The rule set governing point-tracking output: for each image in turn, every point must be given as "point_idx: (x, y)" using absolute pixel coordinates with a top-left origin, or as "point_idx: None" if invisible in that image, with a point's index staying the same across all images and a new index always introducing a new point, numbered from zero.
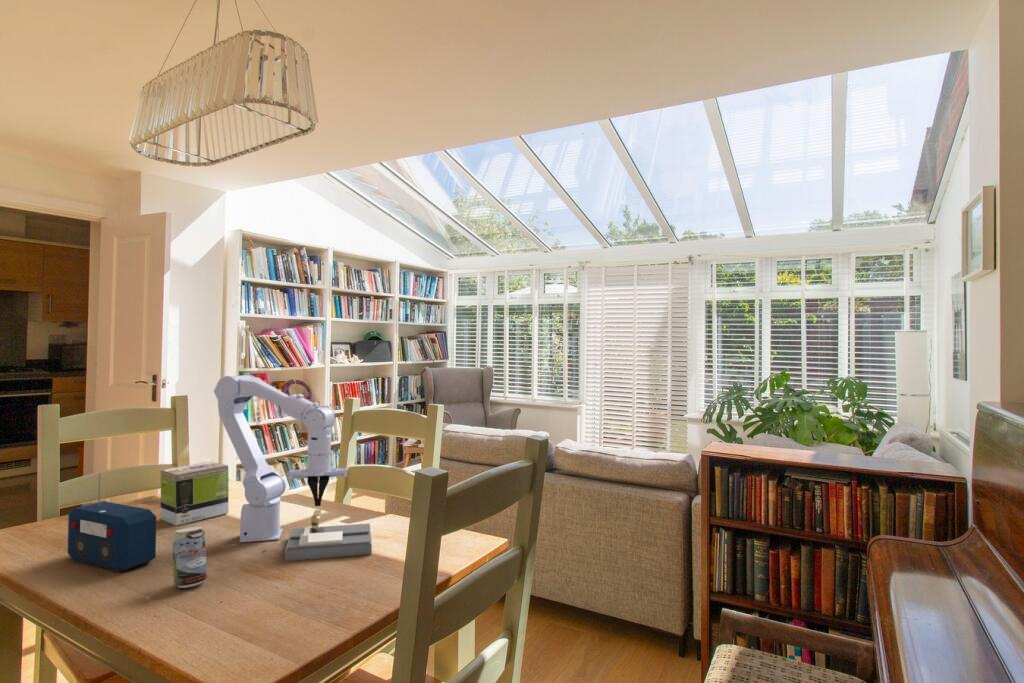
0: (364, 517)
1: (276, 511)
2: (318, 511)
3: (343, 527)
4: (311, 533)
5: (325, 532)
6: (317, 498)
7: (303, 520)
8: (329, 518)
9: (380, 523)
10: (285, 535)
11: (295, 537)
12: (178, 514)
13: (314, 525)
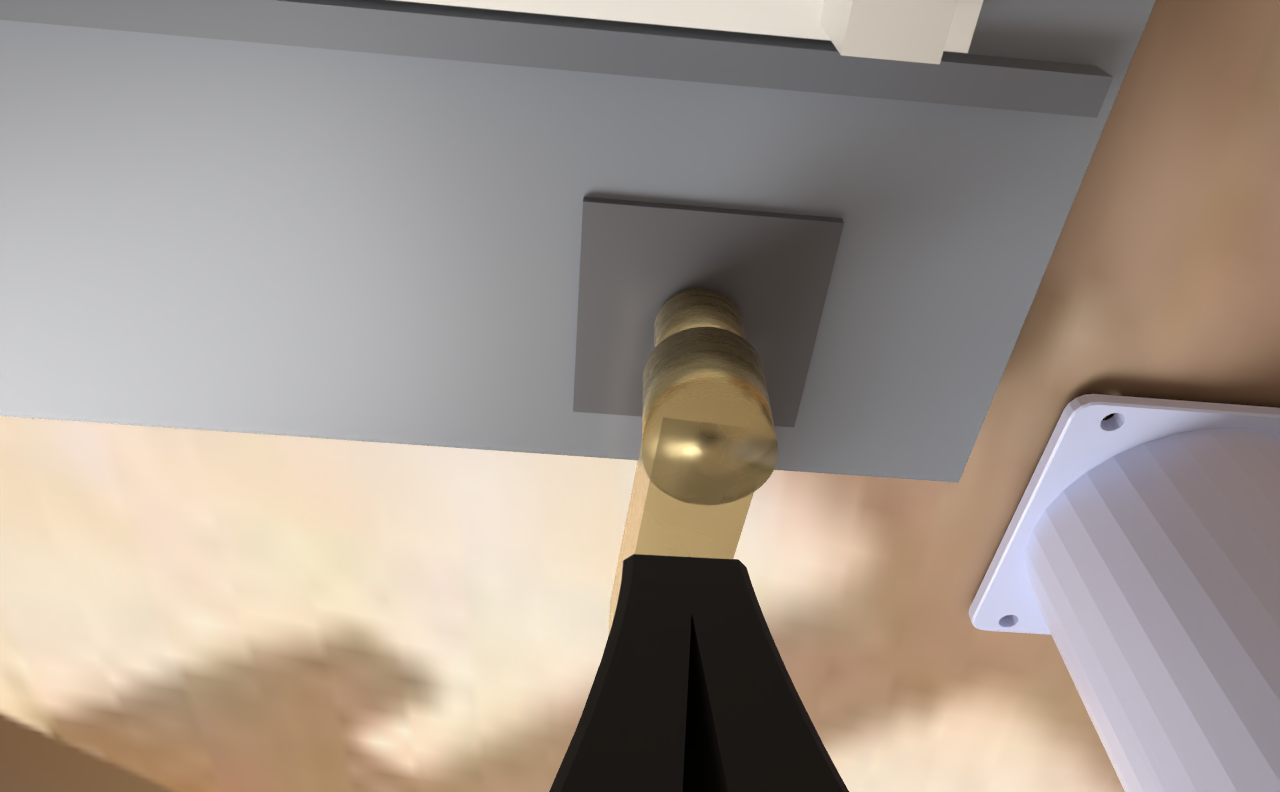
0: (226, 712)
1: (1237, 710)
2: None
3: (318, 364)
4: (791, 29)
5: (542, 4)
6: (703, 714)
7: None
8: (536, 749)
9: (17, 562)
10: (966, 498)
11: (1033, 65)
12: None
13: (716, 333)
